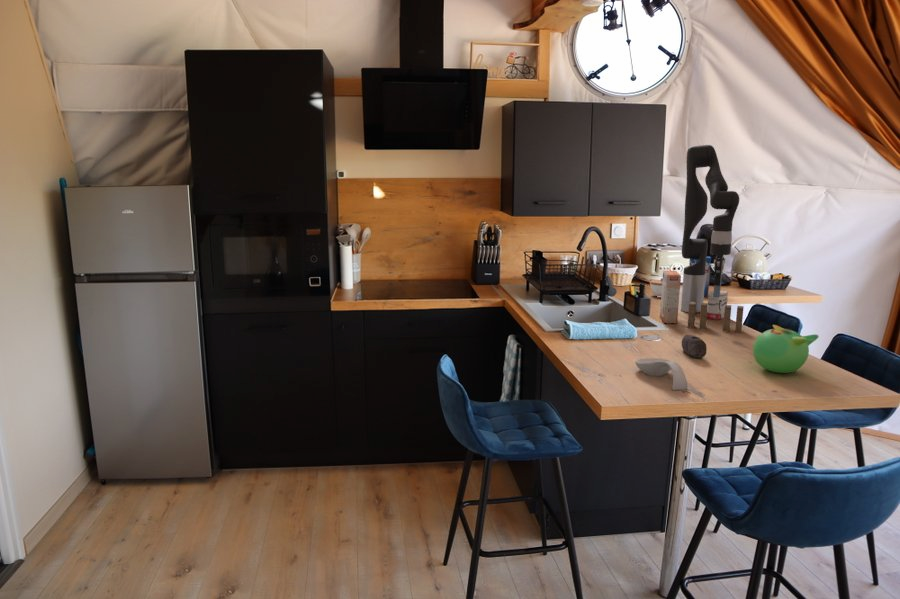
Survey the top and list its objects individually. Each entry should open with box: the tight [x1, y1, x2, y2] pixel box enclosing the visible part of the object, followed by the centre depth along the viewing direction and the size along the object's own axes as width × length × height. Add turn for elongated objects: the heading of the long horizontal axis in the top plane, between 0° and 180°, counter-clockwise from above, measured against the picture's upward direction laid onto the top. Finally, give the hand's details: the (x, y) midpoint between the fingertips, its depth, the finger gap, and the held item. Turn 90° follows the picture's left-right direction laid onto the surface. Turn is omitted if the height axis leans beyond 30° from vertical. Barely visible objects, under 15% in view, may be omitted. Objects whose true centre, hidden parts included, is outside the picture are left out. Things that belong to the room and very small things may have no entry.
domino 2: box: [698, 302, 708, 330], centre depth 268 cm, size 5×2×10 cm, turn 154°
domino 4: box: [722, 304, 732, 333], centre depth 264 cm, size 5×2×10 cm, turn 155°
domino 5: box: [734, 305, 745, 334], centre depth 262 cm, size 5×2×10 cm, turn 154°
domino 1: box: [687, 302, 696, 329], centre depth 270 cm, size 5×2×10 cm, turn 155°
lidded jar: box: [650, 277, 663, 297], centre depth 335 cm, size 11×11×9 cm
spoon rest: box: [634, 357, 689, 391], centre depth 203 cm, size 24×12×7 cm, turn 9°
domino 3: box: [713, 271, 723, 297], centre depth 263 cm, size 5×2×10 cm, turn 154°
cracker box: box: [659, 270, 682, 325], centre depth 280 cm, size 14×6×21 cm, turn 168°
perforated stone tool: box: [681, 334, 708, 359], centre depth 230 cm, size 15×5×7 cm, turn 0°
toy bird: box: [752, 324, 819, 374], centre depth 210 cm, size 18×17×15 cm
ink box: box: [707, 289, 729, 321], centre depth 286 cm, size 9×5×12 cm, turn 131°
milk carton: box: [688, 256, 712, 297], centre depth 337 cm, size 10×6×20 cm, turn 73°
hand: (717, 284), depth 263 cm, fingers closed on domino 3, 5 cm apart
